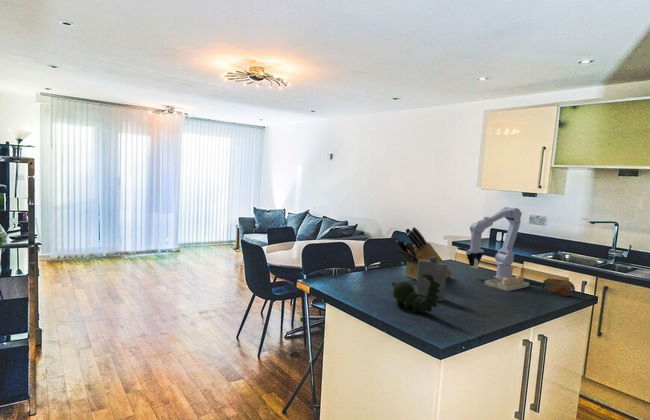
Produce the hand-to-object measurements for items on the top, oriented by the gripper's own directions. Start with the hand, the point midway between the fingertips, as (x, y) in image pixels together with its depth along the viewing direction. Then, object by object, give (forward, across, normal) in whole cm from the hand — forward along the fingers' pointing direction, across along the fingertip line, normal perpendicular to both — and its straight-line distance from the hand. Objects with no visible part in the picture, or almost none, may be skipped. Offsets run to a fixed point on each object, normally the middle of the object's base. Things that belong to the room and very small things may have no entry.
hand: (473, 265), depth 234 cm
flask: (+8, +54, +14) cm, 56 cm away
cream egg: (+1, 0, 0) cm, 1 cm away
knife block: (+8, +28, -15) cm, 33 cm away
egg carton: (+8, -4, +19) cm, 21 cm away
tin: (+9, -16, +41) cm, 45 cm away
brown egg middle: (+8, -4, +23) cm, 24 cm away
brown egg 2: (+8, -11, +23) cm, 26 cm away
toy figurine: (+8, +77, +23) cm, 81 cm away
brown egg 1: (+8, +3, +23) cm, 24 cm away
